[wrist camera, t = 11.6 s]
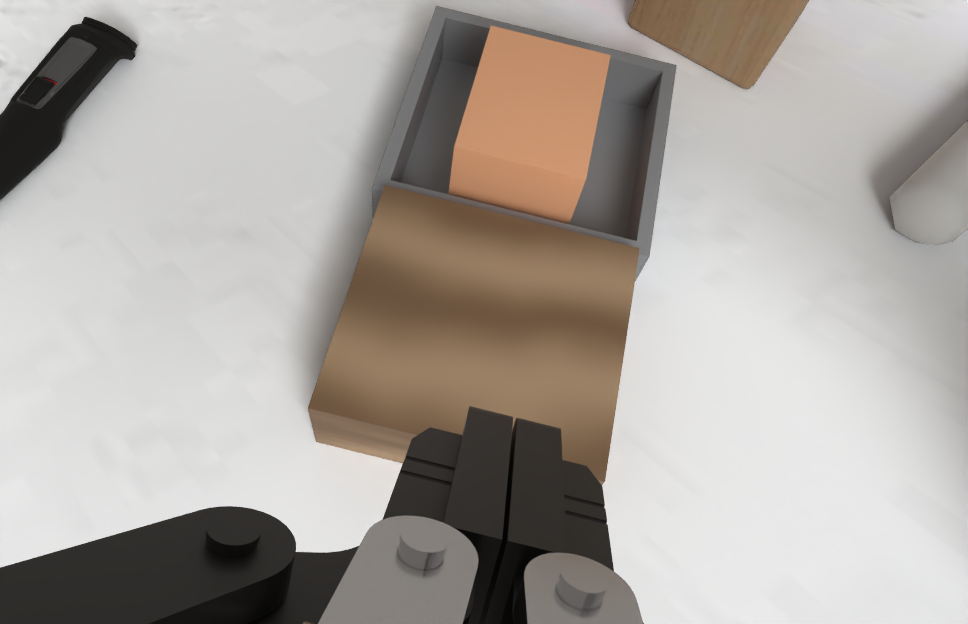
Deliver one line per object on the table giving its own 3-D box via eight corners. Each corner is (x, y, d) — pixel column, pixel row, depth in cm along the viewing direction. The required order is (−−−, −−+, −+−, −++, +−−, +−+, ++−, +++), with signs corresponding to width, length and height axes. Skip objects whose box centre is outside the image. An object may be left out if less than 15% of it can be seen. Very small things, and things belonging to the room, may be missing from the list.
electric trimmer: (-66, 216, 45) (-96, 183, 42) (93, 33, 52) (76, -6, 49) (-6, 240, 45) (-33, 209, 42) (145, 53, 52) (131, 15, 49)
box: (629, 291, 47) (649, 256, 44) (373, 227, 47) (371, 188, 44) (657, 108, 54) (676, 65, 50) (432, 52, 54) (436, 5, 50)
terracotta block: (586, 179, 41) (610, 55, 45) (454, 146, 41) (491, 25, 45) (559, 249, 47) (583, 134, 52) (445, 221, 47) (477, 108, 52)
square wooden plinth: (580, 507, 41) (604, 481, 37) (316, 441, 41) (308, 408, 37) (615, 292, 47) (639, 248, 43) (384, 235, 47) (384, 185, 43)
